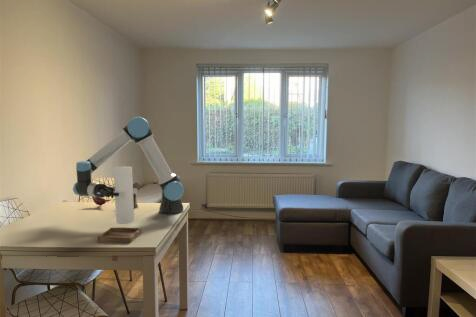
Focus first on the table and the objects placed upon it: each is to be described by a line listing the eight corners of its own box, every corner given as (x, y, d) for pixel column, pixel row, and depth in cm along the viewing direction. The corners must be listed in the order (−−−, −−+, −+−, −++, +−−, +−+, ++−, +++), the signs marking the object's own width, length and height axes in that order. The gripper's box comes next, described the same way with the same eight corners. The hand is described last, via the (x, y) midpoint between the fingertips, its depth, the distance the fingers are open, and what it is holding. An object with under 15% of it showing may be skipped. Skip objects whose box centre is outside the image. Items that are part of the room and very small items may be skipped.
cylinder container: (124, 224, 191) (121, 168, 188) (112, 222, 196) (109, 166, 193) (138, 220, 199) (135, 166, 196) (126, 218, 204) (123, 165, 201)
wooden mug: (130, 211, 236) (129, 183, 234) (121, 207, 246) (120, 181, 244) (143, 208, 242) (142, 181, 240) (133, 205, 252) (133, 179, 250)
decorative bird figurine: (93, 206, 251) (92, 191, 250) (112, 208, 243) (112, 193, 242) (90, 206, 248) (89, 192, 247) (109, 209, 240) (109, 194, 239)
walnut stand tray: (111, 232, 190) (111, 227, 190) (141, 232, 189) (141, 228, 189) (97, 242, 174) (97, 237, 174) (130, 243, 173) (130, 237, 173)
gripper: (112, 193, 214) (143, 195, 205) (83, 200, 194) (116, 204, 185) (111, 180, 213) (143, 182, 204) (82, 186, 193) (116, 189, 184)
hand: (130, 192), depth 195 cm, fingers closed on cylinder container, 9 cm apart
